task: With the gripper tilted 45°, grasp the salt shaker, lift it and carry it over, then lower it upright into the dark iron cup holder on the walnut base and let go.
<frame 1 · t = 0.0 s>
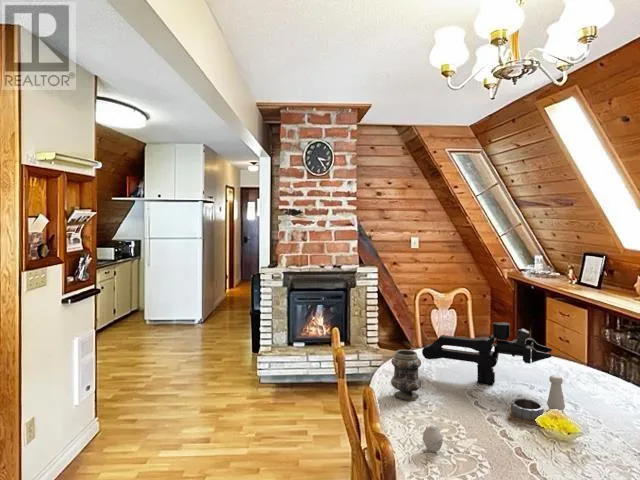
hand: (551, 352, 175), 17 cm above the table, tool horizontal, fingers open, 9 cm apart
salt shaker: (555, 411, 158), on the table
apothecary jar: (406, 396, 173), on the table
cup holder: (527, 416, 154), on the table
grey cracked egg: (432, 451, 131), on the table
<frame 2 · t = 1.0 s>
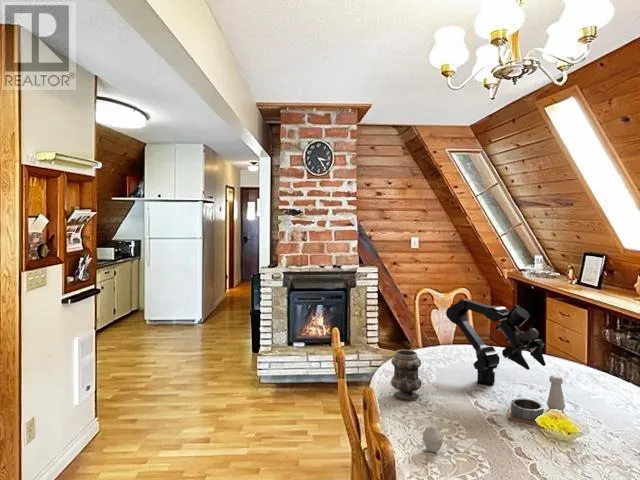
hand: (536, 367, 165), 14 cm above the table, tool tilted 45°, fingers open, 9 cm apart
nothing on the table moved.
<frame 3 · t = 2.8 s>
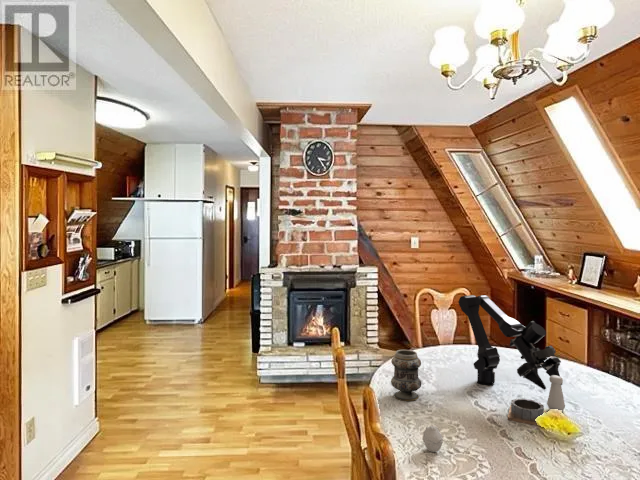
hand: (553, 387, 159), 9 cm above the table, tool tilted 45°, fingers open, 9 cm apart
nothing on the table moved.
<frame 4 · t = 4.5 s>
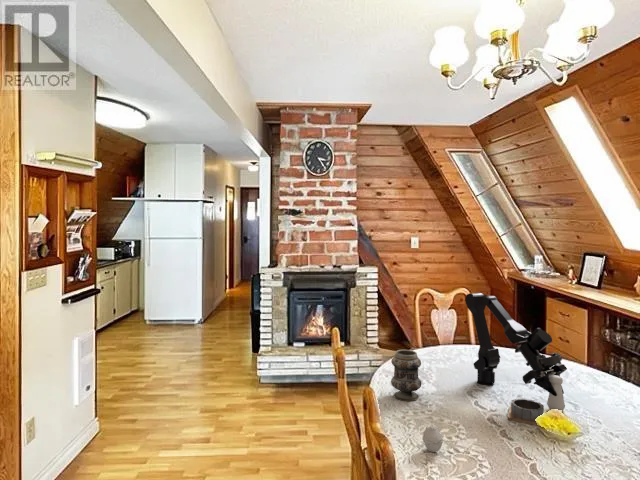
hand: (559, 394, 157), 7 cm above the table, tool tilted 45°, fingers closed on salt shaker, 3 cm apart
salt shaker: (555, 411, 158), on the table, touching gripper
everything else where it was.
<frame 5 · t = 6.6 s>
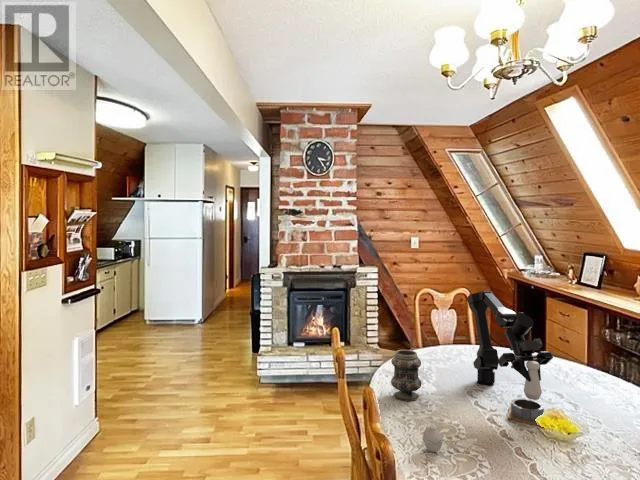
hand: (535, 380, 152), 13 cm above the table, tool tilted 45°, fingers closed on salt shaker, 3 cm apart
salt shaker: (532, 398, 154), point 7 cm above the table, touching gripper
everything else where it was.
when the fingers open (9 cm above the table, at t = 8.5 s): salt shaker drops 1 cm, resting on cup holder.
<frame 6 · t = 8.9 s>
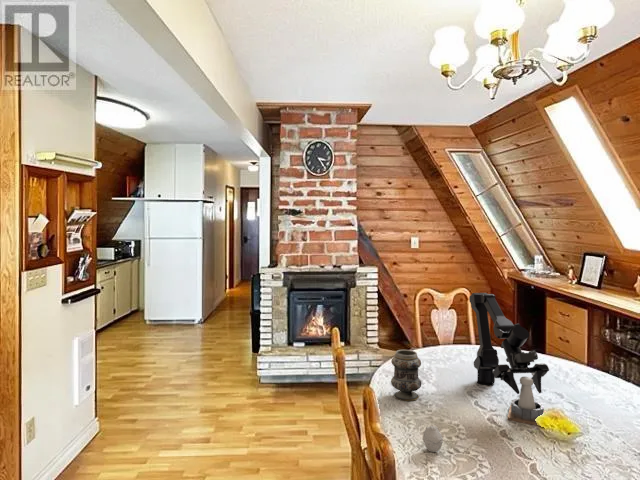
hand: (529, 393, 152), 9 cm above the table, tool tilted 45°, fingers open, 8 cm apart
salt shaker: (526, 414, 154), point 1 cm above the table, touching cup holder
everything else where it was.
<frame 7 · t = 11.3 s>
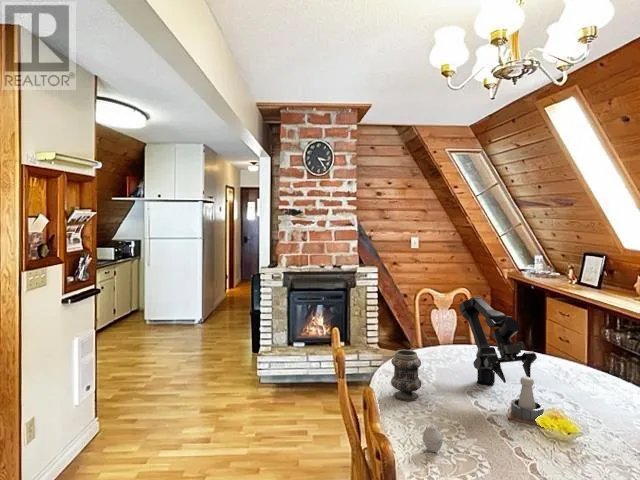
hand: (517, 381, 163), 9 cm above the table, tool tilted 40°, fingers open, 9 cm apart
nothing on the table moved.
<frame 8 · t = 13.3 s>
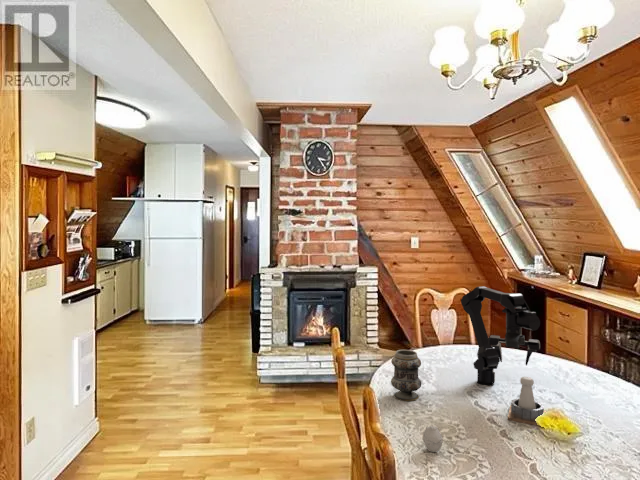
hand: (513, 363, 173), 13 cm above the table, tool pointing down, fingers open, 9 cm apart
nothing on the table moved.
at the end: salt shaker 0.2 cm off-centre on the cup holder, point 0.8 cm above the cup holder's base; salt shaker tilted 0°; the gripper is holding nothing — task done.
